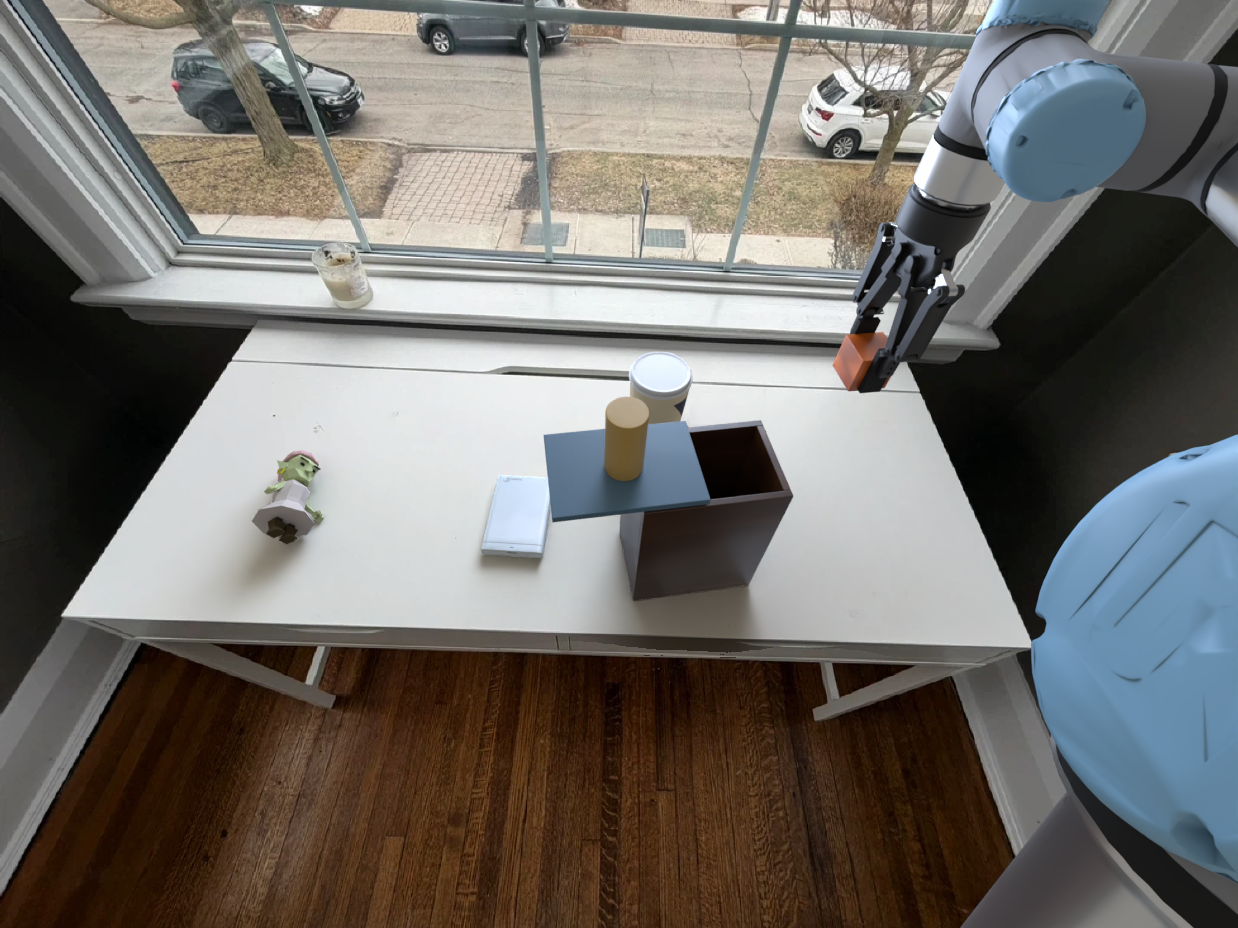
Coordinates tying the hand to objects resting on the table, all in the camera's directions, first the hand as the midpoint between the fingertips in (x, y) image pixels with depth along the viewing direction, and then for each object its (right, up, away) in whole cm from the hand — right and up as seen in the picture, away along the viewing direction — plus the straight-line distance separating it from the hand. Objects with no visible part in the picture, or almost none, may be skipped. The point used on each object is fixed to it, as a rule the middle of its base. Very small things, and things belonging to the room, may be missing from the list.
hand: (859, 374), depth 70 cm
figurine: (-73, -14, +4) cm, 74 cm away
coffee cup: (-25, -5, +19) cm, 32 cm away
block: (0, 0, 0) cm, 0 cm away
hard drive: (-45, -19, +7) cm, 49 cm away
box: (-22, -24, +4) cm, 33 cm away
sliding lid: (-30, -12, -14) cm, 35 cm away
